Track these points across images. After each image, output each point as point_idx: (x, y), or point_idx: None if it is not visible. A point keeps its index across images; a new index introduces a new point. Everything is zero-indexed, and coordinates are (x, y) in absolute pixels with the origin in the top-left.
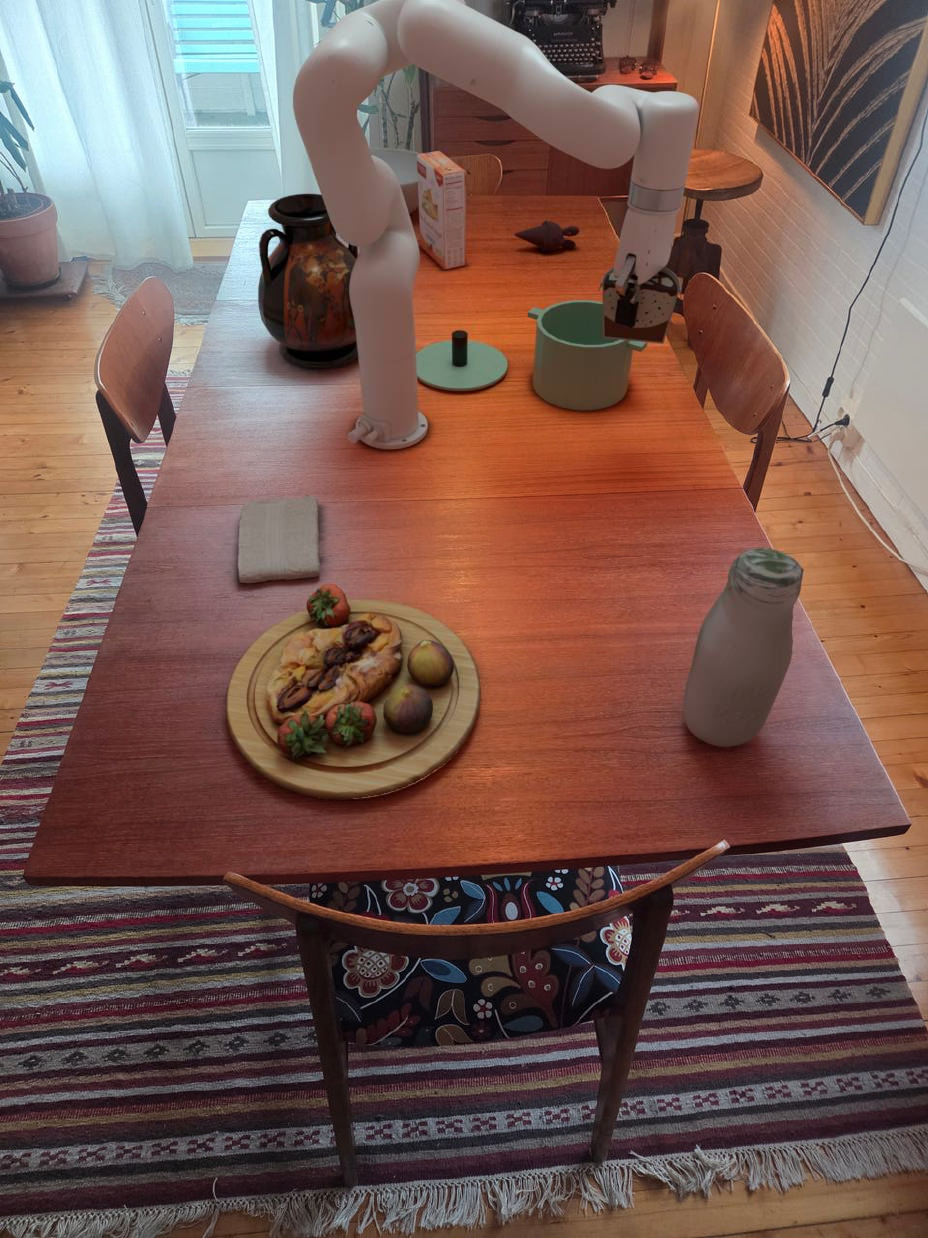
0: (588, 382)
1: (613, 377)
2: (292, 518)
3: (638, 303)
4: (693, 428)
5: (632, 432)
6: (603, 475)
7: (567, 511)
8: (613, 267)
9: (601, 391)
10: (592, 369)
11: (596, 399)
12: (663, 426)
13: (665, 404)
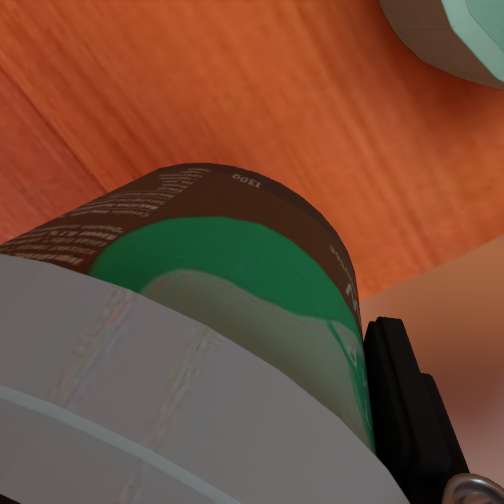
0: (398, 1)
1: (454, 70)
2: None
3: None
4: (402, 265)
5: (332, 160)
6: (151, 164)
7: (10, 148)
8: (15, 493)
9: (415, 43)
10: (413, 7)
11: (400, 33)
12: (385, 211)
13: (485, 187)
